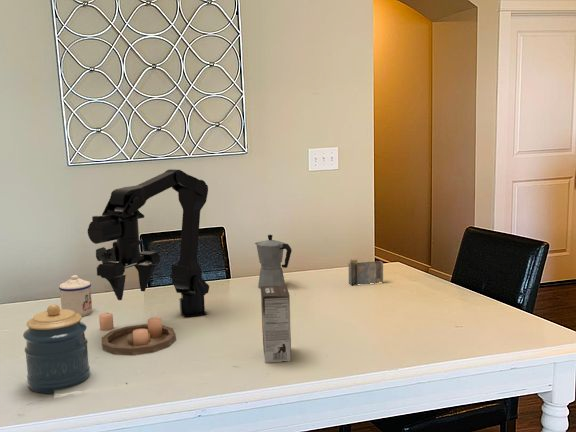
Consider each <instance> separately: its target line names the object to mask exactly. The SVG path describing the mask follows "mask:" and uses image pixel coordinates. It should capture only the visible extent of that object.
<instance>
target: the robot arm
mask: <svg viewBox="0 0 576 432" xmlns="http://www.w3.org/2000/svg"><path fill="white" fill-rule="evenodd" d="M169 189H172V190H174V191H175V192H177V193H178V195H177V196H178V201H179V204H180V206H181V208H182V220H181V235H180V247H179V248H180V251H179V260H178V261H177V262H176V264H172V265H171V275H170V280H171V283H172V286H174V289H175V293H177V294H180V297H179V312H180V313H181V315H182V316H183V317H184V318H188V317H195V316H196V317H197V316H198V317H199V316H204V315H207V312H206V311H205V310H206V309H205V307H206V306H205V296H206V294H209V290H210V285H209V284H208V283H207V282H206V281H205V280H204V279H203V278H202V277H203V276H202V272H203V271H202V268H201V265H200V264H199V261H198V250H199V249H198V248H199V235H200V234H199V233H200V232H199V231H200V222H201V221H200V220H201V211H202V209H203V207H204V205H205V204H206V203H207V201H208V200H207V199H208V195H209V194H208V193H209V186H208V184H207V183H206V181H205V180H203V179H199V178H197V177H195V176H193V175H190V174H188V173H186V172H184V171H182V170H181V169H176V168H175V169H173V168H172V169H171V168H170V169H167V170H165V171H164V172H162V173H161V174H160V173H159V175H156V176H154V177H152V178H150V179H147V180H146V181H144V182H141V183H139V184H137V185H131V186H130V185H129V186H124V187H120V188H116V189H114V190H112V191H111V193H110V197H109V199H108V202H107V203H106V206H105V207H104V210H103V212H102V213H101V214H102V215H93V216H92V217H91V218H92V221H91V222H89V225H88V228H87V236H88V238H89V240H90V241H91V243H93V244H95V245H97V244H103V243H107V242H111V241H113V242H112V247H111V248H109V249H106V248H105V246H103V247H100V248H97V249H95V258H96V260H97V261H98V262H101V264H100V263H99V264H98V265H97V266H96V275H97V276H99V277H100V278H102V279H106V281H108V284H110V286H111V288H112V290H113V292H114V295H115V297H116V298H117V299H116V300H118V301H122V300H123V296H124V290H125V282H126V277H127V276H126V274H124V273H125V271H126V269H128V268H132V267H134V268H135V269H136V270H137V272H138V273H137V274H138V281H139V282H138V284H139V289H140V292H145V291H146V289H147V287H148V285H149V282H150V279H151V277H152V274H153V273H154V271H155V269H156V267H158V263H161V257H160V253H158V251H148V250H142V251H141V249H140V248H141V247H140V245H143V244H144V241H143V239H140V232H139V229H140V228H139V219H144V218H145V215H144V214H143V213H142V212H141V211H140V209H141V208H142V207H144V206H145V204H146V202H147V201H148V200H149V199H150V198H153V197H154V196H156V195H158V194H160V193H162V192H164V191H166V190H169Z"/></svg>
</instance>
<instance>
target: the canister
mask: <svg viewBox="0 0 576 432" xmlns="http://www.w3.org/2000/svg"><path fill="white" fill-rule="evenodd" d="M46 309H47V310H44V311H41V312H39V313H36V314H35V315H33V317H31V318H30V319H28V320H27V321H26V326H27V329H26V330H24V332H23V334H22V337H23V338H24V339H25V341H26V346H25V347H24V353H25V359H26V360H25V361H26V370H27V372H26V373H27V375H26V381H27V383H28V387H29V389H30V390H31V391H33V392H36V393H42V394H54V393H55V391H58V390H59V391H60V390H64V389H68V388H72V387H75V386H78V385H80V384H82V383H84V382H85V381H86V380H87V379H89V377H90V373H91V369H90V368H91V367H90V365H89V363H90V362H89V351H88V338H86V336H85V332H86V330H87V325H86V323H84V322H82V321H81V320H82V319H83V316H81V315H80V314H78V313H75V312H74V311H72V310H68V309H62V308H60V306H59V305H58V304H56V303H51V304H49V305H48V306H47V308H46Z"/></svg>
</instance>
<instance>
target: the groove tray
mask: <svg viewBox="0 0 576 432" xmlns="http://www.w3.org/2000/svg"><path fill="white" fill-rule="evenodd" d="M136 329H147V330H148V323H147V324H136V325H127V326H124V327H120V328H117V329H112V330H111V331H110V330H109V331H108V332H107V333H105V334H104V335H103V336H102V337H101V346H102V347H101V348H102V351H104V352H105V353H110V354H112V355H117V356H118V355H119V356H120V355H121V356H137V355H144V354H150V353H151V354H153V353H155V352H158V351H161V350H164V349H167V348H169V347H171V346H172V344H174V343H175V342H176V341H177V335H176V332H175V330H174V328H172V327H170V326H167V325H163V324H162V337H160V338H150V333H149V332H148V343H149V345H141V346H134V343H133V331H134V330H136Z"/></svg>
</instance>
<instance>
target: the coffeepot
mask: <svg viewBox="0 0 576 432" xmlns="http://www.w3.org/2000/svg"><path fill="white" fill-rule="evenodd" d="M254 245H256V250H257V256H258V261H259V263H260V266H261V267H260V269H259V277H258V284H257V285H258V286H257V287H258V289H260V290H261V286H284V285H286V282H285V276H284V272H283V269H284V268H285V269H287V268H288V265H289V263H290V259H291V254H292V251H293V249H292V247H291V246H290V245H289V243H285V242H283V241H280V240H273V235H272V234H267V240H262V241H256V242H255V243H254ZM284 250H286V253H285V258H284ZM283 259H284V264H282V262H283Z"/></svg>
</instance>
